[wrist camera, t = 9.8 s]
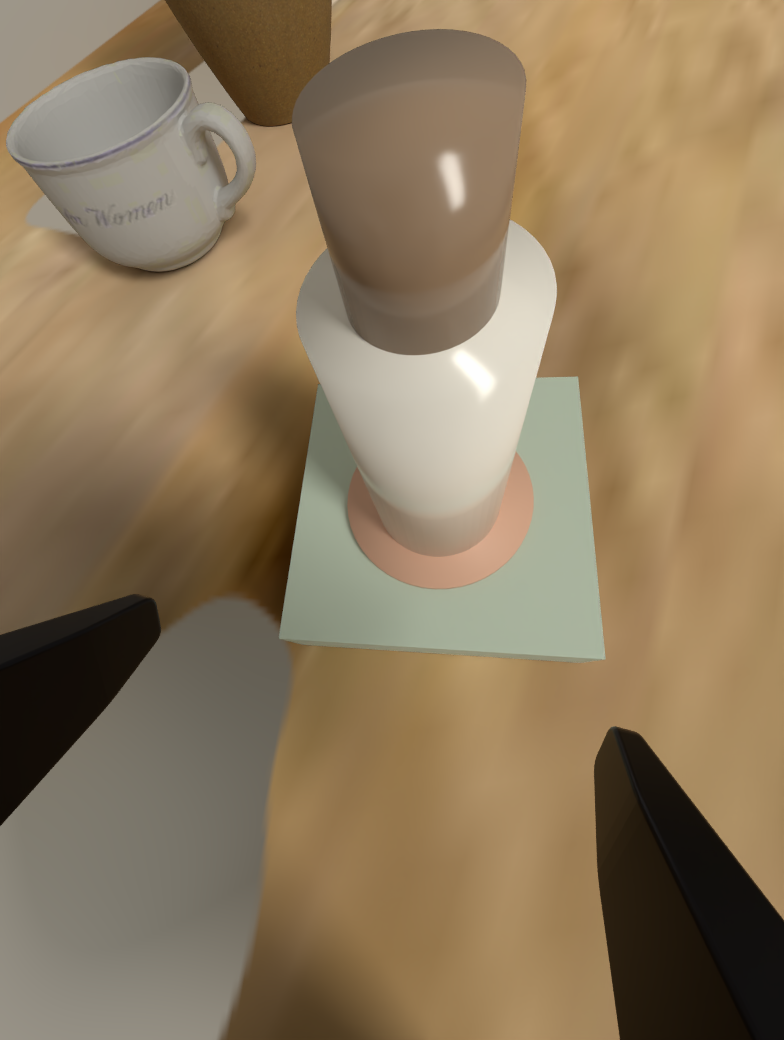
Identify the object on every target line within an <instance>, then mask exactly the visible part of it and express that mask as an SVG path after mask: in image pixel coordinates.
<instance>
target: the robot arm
mask: <svg viewBox="0 0 784 1040" xmlns="http://www.w3.org/2000/svg"><path fill="white" fill-rule="evenodd" d="M160 633H161V626H160V621H159V615H158V610H157V605H156V602H155V601H154V599H152V598H150V597H146V596H142V595H139V594H133V595H129V596H126V597H123V598H119V599H116V600H113V601H110V602H106V603H103V604H100V605H97V606H93V607H90V608H87V609H83V610H80V611H77V612H74V613H70V614H67V615H64V616H61V617H57V618H54V619H51V620H48V621H44V622H41V623H38V624H35V625H31V626H28V627H25V628H21V629H18V630H15V631H12V632H8V633H5V634H2V635H0V826H1V825H2V824H3V822H4V821H5V820H6V819H7V818H8V817H9V816H10V815H11V814H12V812H13V811H14V810H15V809H16V808H17V807H18V806H19V805H20V803H21V802H22V801H23V800H24V799H25V798H26V797H27V796H28V795H29V793H30V792H31V791H32V790H33V789H34V788H35V787H36V786H37V785H38V783H39V782H40V781H41V780H42V779H43V778H44V777H45V776H46V774H47V773H48V772H49V771H50V770H51V769H52V768H53V767H54V765H55V764H56V763H57V762H58V761H59V760H60V759H61V758H62V757H63V755H64V754H65V753H66V752H67V751H68V750H69V749H70V748H71V747H72V745H73V744H74V743H75V742H76V741H77V740H78V739H79V738H80V736H81V735H82V734H83V733H84V732H85V731H86V730H87V729H88V728H89V726H90V725H91V724H92V723H93V722H94V721H95V720H96V719H97V717H98V716H99V715H100V714H101V713H102V712H103V711H104V709H105V708H106V707H107V706H108V705H109V704H110V702H111V701H112V700H113V699H114V697H115V696H116V695H117V693H118V692H119V691H120V689H121V688H122V687H123V685H124V684H125V683H126V681H127V680H128V679H129V678H130V676H131V675H132V673H133V672H134V671H135V670H136V668H137V667H138V665H139V664H140V662H141V661H142V660H143V659H144V657H145V656H146V655H147V654H148V652H149V651H150V649H151V648H152V647H153V646H154V644H155V643H156V642H157V640H158V638H159V636H160ZM594 785H595V815H596V845H597V868H598V879H599V888H600V896H601V904H602V911H603V918H604V926H605V933H606V940H607V948H608V955H609V962H610V970H611V977H612V984H613V992H614V999H615V1006H616V1014H617V1021H618V1028H619V1035H620V1040H784V920H783V919H782V917H781V916H780V915H779V913H778V912H777V911H776V909H775V908H774V907H773V906H772V904H771V903H770V902H769V900H768V899H767V898H766V897H765V895H764V894H763V893H762V891H761V890H760V889H759V887H758V886H757V885H756V884H755V882H754V881H753V880H752V878H751V877H750V876H749V874H748V873H747V872H746V871H745V869H744V868H743V867H742V865H741V864H740V863H739V862H738V860H737V859H736V858H735V856H734V855H733V854H732V852H731V851H730V850H729V849H728V847H727V846H726V845H725V843H724V842H723V841H722V840H721V838H720V837H719V836H718V834H717V833H716V832H715V830H714V829H713V828H712V827H711V825H710V824H709V823H708V821H707V820H706V819H705V818H704V816H703V815H702V814H701V812H700V811H699V810H698V808H697V807H696V806H695V805H694V803H693V802H692V801H691V799H690V798H689V797H688V796H687V794H686V793H685V792H684V790H683V789H682V788H681V786H680V785H679V784H678V783H677V781H676V780H675V779H674V777H673V776H672V775H671V774H670V772H669V771H668V770H667V768H666V767H665V766H664V764H663V763H662V762H661V761H660V759H659V758H658V757H657V755H656V754H655V753H654V752H653V750H652V749H651V748H650V746H649V745H648V744H647V742H646V741H645V740H644V739H643V737H642V736H641V735H640V734H638V733H637V732H634V731H631V730H627V729H623V728H620V727H616V726H614V727H611V728H610V729H609V730H608V732H607V734H606V736H605V739H604V741H603V743H602V745H601V747H600V750H599V752H598V754H597V756H596V760H595V765H594Z"/></svg>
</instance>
